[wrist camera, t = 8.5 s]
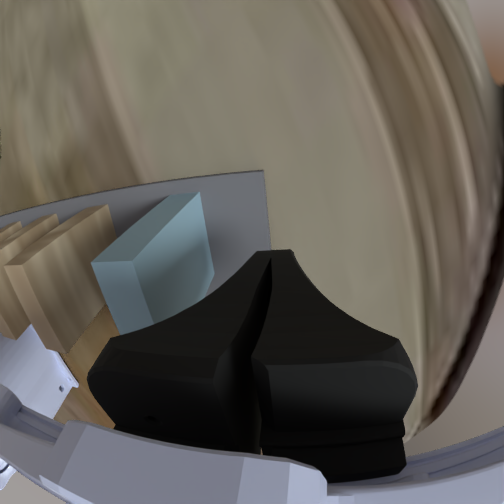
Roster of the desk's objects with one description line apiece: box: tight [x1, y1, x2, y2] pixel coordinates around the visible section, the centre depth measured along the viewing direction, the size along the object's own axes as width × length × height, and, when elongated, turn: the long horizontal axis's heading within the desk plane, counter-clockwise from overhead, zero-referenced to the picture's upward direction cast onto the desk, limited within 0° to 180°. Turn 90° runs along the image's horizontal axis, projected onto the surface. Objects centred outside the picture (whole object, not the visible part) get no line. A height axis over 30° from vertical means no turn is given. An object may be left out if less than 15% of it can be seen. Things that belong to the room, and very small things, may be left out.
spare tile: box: [91, 192, 215, 335], centre depth 12 cm, size 2×5×7 cm, turn 6°
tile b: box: [0, 213, 60, 340], centre depth 14 cm, size 2×5×7 cm, turn 7°
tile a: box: [4, 204, 117, 354], centre depth 13 cm, size 2×5×7 cm, turn 6°
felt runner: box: [0, 170, 271, 298], centre depth 17 cm, size 7×26×1 cm, turn 96°
